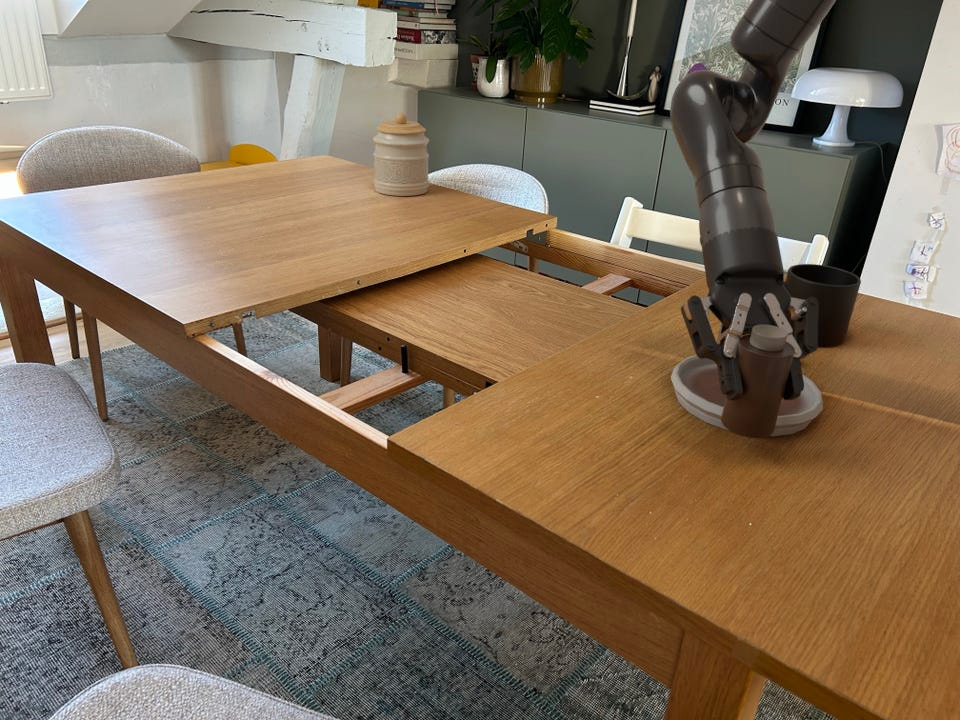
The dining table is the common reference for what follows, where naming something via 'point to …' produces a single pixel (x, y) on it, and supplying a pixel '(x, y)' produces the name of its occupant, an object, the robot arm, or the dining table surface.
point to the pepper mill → (759, 382)
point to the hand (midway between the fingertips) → (764, 397)
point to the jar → (401, 158)
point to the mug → (825, 298)
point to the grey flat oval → (706, 399)
